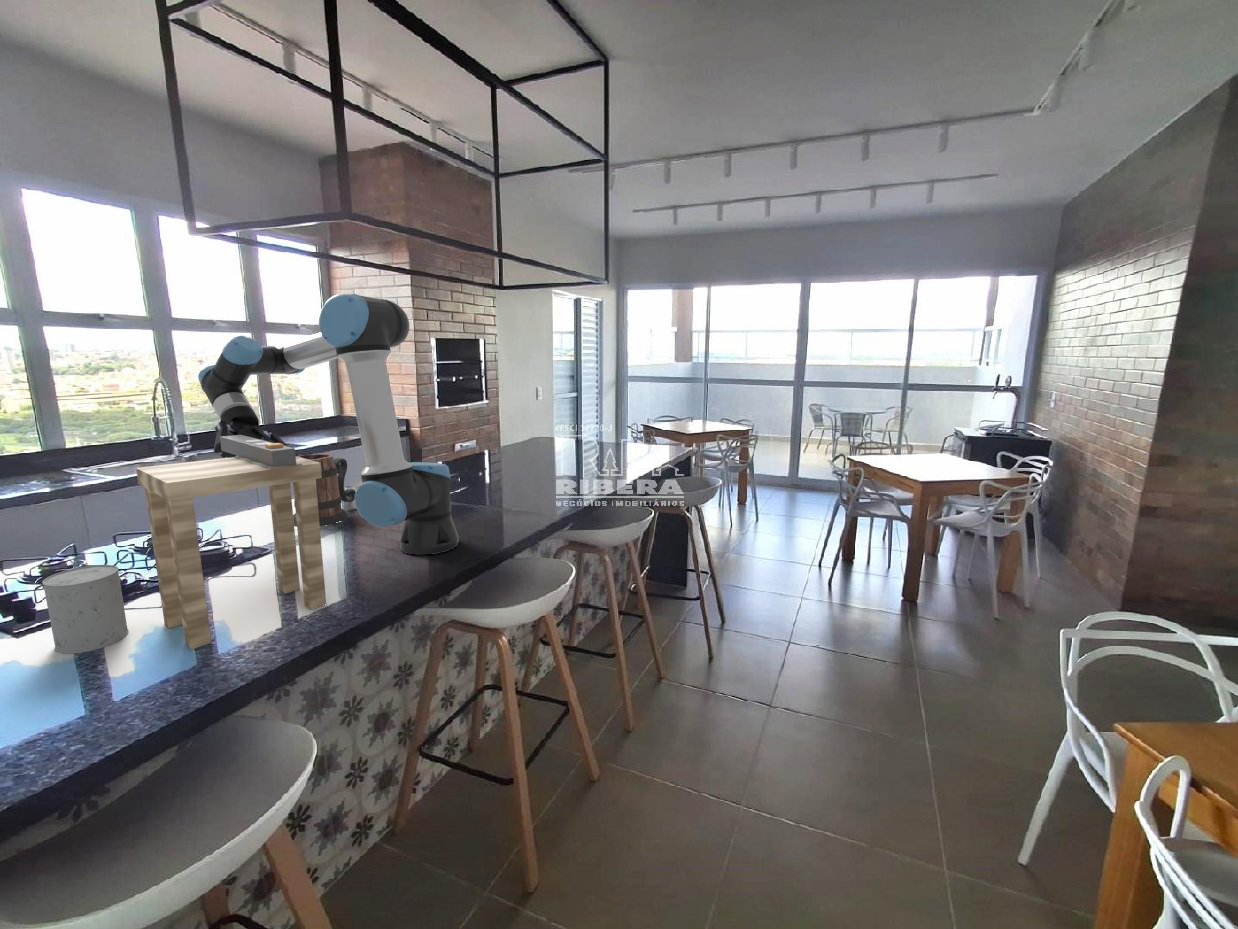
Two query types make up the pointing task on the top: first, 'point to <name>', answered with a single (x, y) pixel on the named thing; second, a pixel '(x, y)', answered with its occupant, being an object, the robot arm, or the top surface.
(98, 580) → the speckled concrete cylinder
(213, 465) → the shelf stand
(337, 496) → the tankard
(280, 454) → the power strip
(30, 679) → the top surface
